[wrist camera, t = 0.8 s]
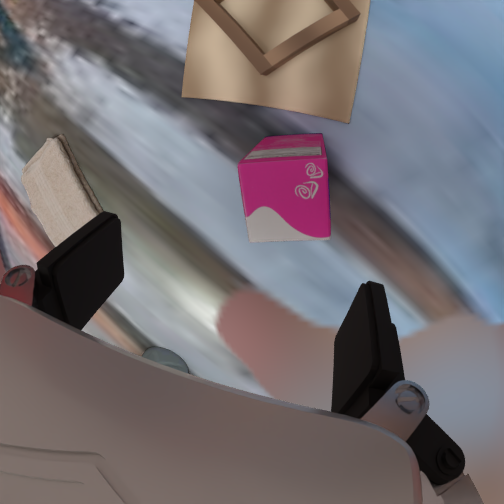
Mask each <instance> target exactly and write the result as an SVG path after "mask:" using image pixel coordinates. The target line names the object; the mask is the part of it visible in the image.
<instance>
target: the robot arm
mask: <svg viewBox="0 0 504 504" xmlns="http://www.w3.org/2000/svg"><path fill="white" fill-rule="evenodd" d="M37 267H38V270H36V271H35V270H34V269H33V268H32V267H31V266H28V265H19V266H15V267H13V268H11V269H9V270H8V271H7V272H6V273H5V274H4V275H3V278H2V281H1V284H0V504H484V503H483V501H482V499H481V497H480V495H479V493H478V491H477V489H476V487H475V485H474V483H473V482H472V480H471V478H470V476H469V474H467V475H464V473H463V470H464V467H465V458H464V454H463V452H462V450H461V448H460V447H459V446H458V445H457V444H456V443H455V442H454V441H453V440H452V439H451V438H450V437H449V436H448V435H447V434H446V433H445V432H444V431H443V430H442V429H441V428H440V427H439V426H438V425H437V424H436V423H435V422H434V421H433V420H432V419H431V418H430V417H429V416H428V415H427V414H426V413H427V411H428V409H429V399H428V396H427V394H426V392H425V391H424V390H423V388H422V387H421V386H419V385H418V384H416V383H415V382H412V381H408V380H405V377H404V370H403V364H402V358H401V352H400V346H399V341H398V335H397V330H396V327H395V325H394V324H393V323H391V318H390V313H389V308H388V303H387V298H386V293H385V289H384V285H383V284H379V283H376V282H372V281H368V282H367V283H366V284H364V283H362V284H361V286H360V288H359V290H358V292H357V294H356V296H355V298H354V300H353V302H352V305H351V307H350V309H349V311H348V313H347V315H346V317H345V319H344V321H343V323H342V325H341V327H340V329H339V331H338V333H337V335H336V338H335V342H334V371H333V391H332V407H331V412H330V411H325V410H320V409H316V408H311V407H307V406H302V405H298V404H293V403H289V402H285V401H281V400H277V399H273V398H269V397H265V396H261V395H257V394H254V393H250V392H246V391H243V390H239V389H235V388H232V387H229V386H225V385H222V384H219V383H215V382H212V381H209V380H206V379H203V378H200V377H197V376H194V375H191V374H188V373H185V372H182V371H179V370H176V369H173V368H170V367H168V366H165V365H162V364H159V363H157V362H154V361H151V360H149V359H146V358H144V357H141V356H139V355H136V354H134V353H131V352H129V351H126V350H124V349H121V348H119V347H117V346H114V345H112V344H110V343H107V342H105V341H103V340H101V339H98V338H96V337H94V336H92V335H89V334H87V333H85V332H83V331H81V330H82V329H83V327H84V326H85V325H86V324H87V322H88V321H89V320H90V319H91V317H92V316H93V315H94V314H95V313H96V311H97V310H98V309H99V308H100V307H101V305H102V304H103V303H104V302H105V301H106V300H107V298H108V297H109V296H110V295H111V294H112V292H113V291H114V290H115V289H116V288H117V287H118V286H119V284H120V283H121V282H122V280H123V278H124V265H123V252H122V237H121V221H120V219H118V216H117V215H116V214H113V213H109V212H106V211H103V212H101V213H100V214H98V215H97V216H96V217H94V218H93V219H92V220H90V221H89V222H87V223H86V224H85V225H83V226H82V227H81V228H79V229H78V230H77V231H76V232H74V233H73V234H72V235H70V236H69V237H68V238H67V239H65V240H64V241H63V242H61V243H60V244H59V245H58V246H56V247H55V248H54V249H53V250H52V251H50V252H49V253H48V254H47V255H45V256H44V257H43V258H42V259H41V260H39V261H38V262H37Z"/></svg>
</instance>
